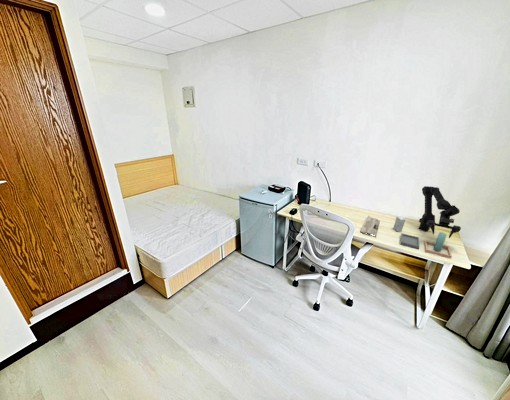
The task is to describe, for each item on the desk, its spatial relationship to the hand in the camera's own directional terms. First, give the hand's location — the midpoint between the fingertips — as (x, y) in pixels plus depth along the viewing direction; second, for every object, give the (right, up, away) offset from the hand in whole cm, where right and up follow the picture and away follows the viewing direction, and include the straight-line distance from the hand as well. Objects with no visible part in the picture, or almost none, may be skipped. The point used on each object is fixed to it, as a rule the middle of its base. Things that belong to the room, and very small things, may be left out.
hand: (441, 236), depth 160 cm
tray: (-15, -7, +12) cm, 21 cm away
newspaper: (-34, +2, +36) cm, 49 cm away
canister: (-2, -11, +1) cm, 11 cm away
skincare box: (-13, 0, +30) cm, 33 cm away
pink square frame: (-2, -11, +1) cm, 11 cm away
